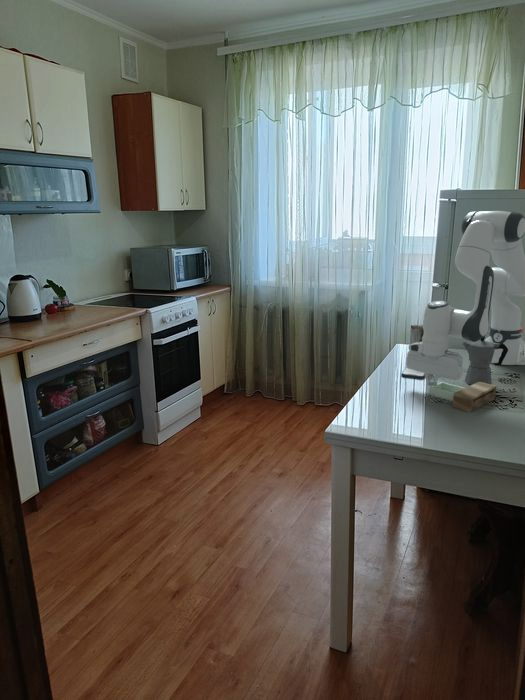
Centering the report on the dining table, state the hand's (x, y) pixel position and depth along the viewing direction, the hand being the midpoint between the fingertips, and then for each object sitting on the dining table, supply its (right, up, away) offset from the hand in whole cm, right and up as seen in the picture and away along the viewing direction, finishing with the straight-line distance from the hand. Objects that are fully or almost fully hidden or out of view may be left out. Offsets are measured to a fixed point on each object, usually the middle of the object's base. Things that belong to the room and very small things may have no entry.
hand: (432, 385), depth 181 cm
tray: (+6, -4, -6) cm, 10 cm away
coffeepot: (+21, 0, +8) cm, 22 cm away
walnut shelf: (+10, -5, -11) cm, 15 cm away
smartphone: (+1, +3, +22) cm, 23 cm away
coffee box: (+6, +7, +33) cm, 34 cm away
